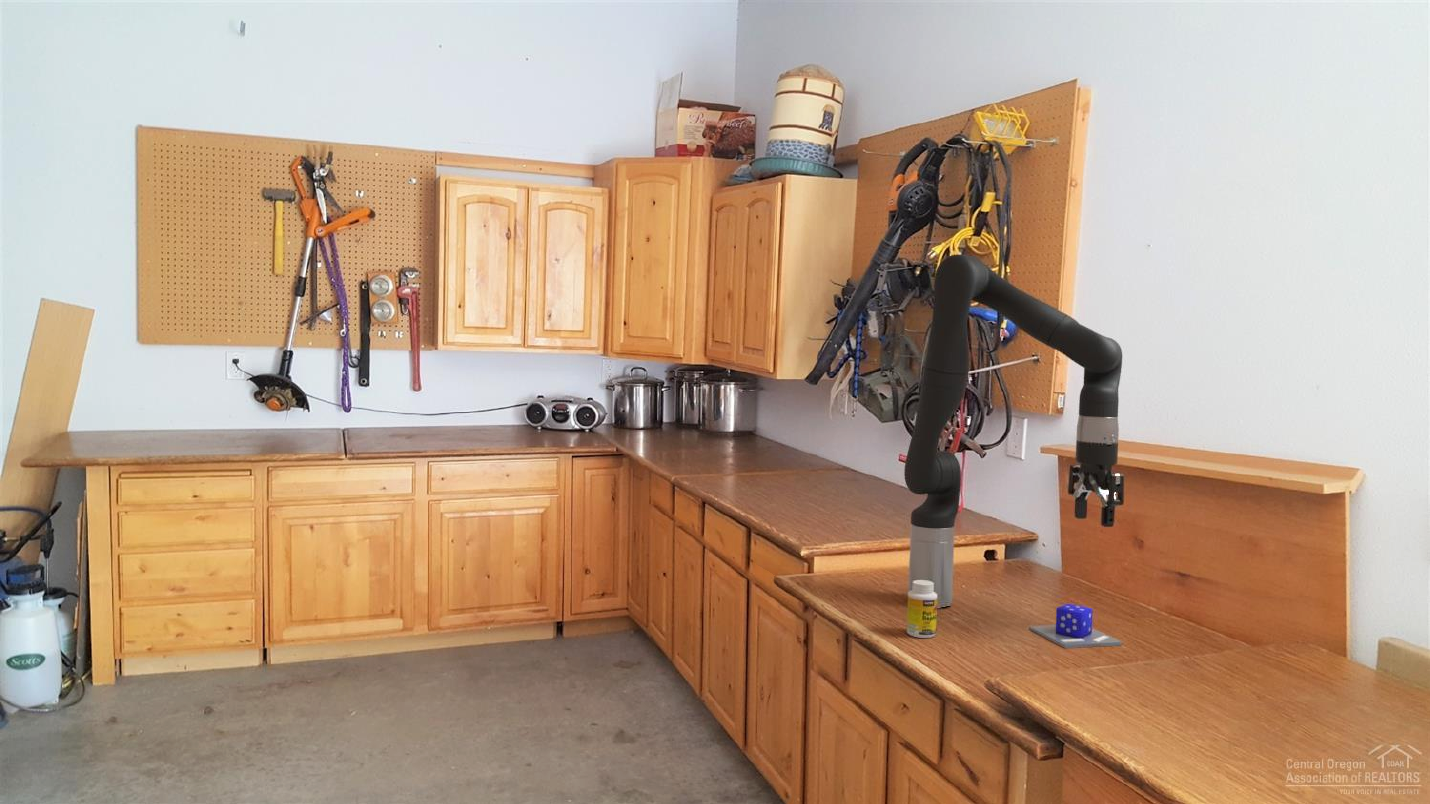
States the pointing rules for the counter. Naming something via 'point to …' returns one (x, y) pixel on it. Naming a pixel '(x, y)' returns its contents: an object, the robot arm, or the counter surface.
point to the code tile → (1071, 642)
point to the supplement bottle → (922, 610)
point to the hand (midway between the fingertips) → (1093, 522)
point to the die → (1074, 621)
